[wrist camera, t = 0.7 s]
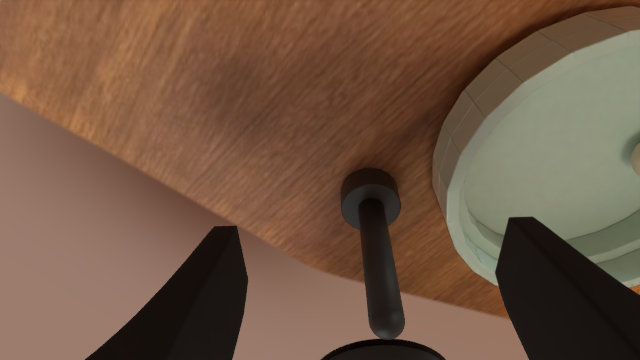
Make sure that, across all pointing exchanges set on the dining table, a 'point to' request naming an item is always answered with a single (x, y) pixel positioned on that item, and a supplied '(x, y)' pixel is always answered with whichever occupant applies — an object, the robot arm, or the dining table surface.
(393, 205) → the black joystick lever
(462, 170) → the bowl
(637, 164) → the ball
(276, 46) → the dining table surface
